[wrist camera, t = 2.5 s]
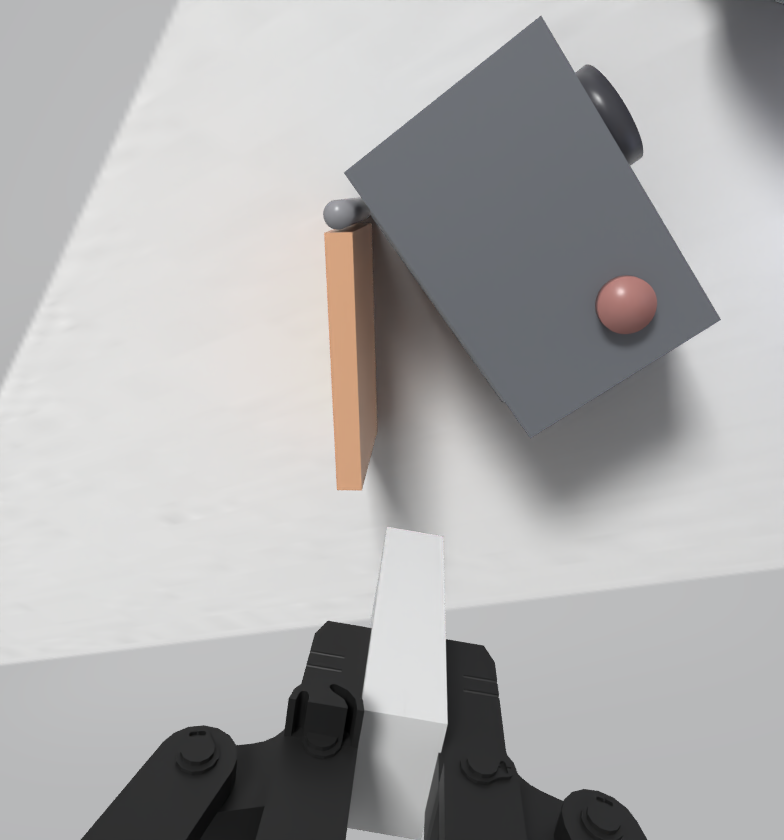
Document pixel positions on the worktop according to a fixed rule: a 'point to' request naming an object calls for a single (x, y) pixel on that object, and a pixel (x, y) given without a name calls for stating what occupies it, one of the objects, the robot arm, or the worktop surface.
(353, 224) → the side door
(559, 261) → the camera housing
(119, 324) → the worktop surface
